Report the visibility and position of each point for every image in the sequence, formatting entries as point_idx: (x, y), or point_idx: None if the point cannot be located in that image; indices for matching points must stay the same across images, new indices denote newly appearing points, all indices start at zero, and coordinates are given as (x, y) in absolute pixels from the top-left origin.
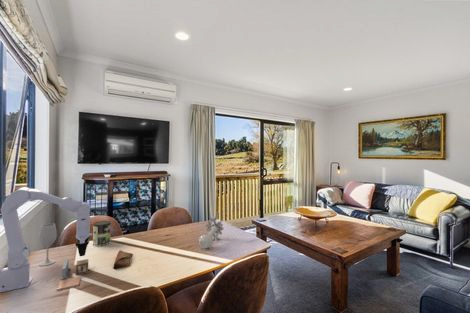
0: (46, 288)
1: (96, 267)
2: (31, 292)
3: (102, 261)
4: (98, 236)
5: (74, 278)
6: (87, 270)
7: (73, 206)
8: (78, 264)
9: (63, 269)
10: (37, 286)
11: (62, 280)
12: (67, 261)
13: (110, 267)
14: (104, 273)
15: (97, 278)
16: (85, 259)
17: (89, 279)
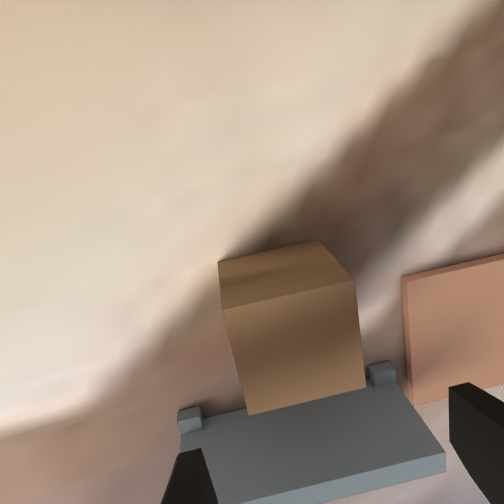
0: None
1: (226, 180)
2: (472, 490)
3: (62, 145)
4: None
5: (428, 314)
6: (323, 249)
7: None
8: (360, 369)
9: (439, 458)
10: (407, 494)
11: (420, 388)
12: (264, 497)
13: (283, 3)
14: (419, 55)
15: (499, 111)
16: (231, 339)
17: (480, 185)
